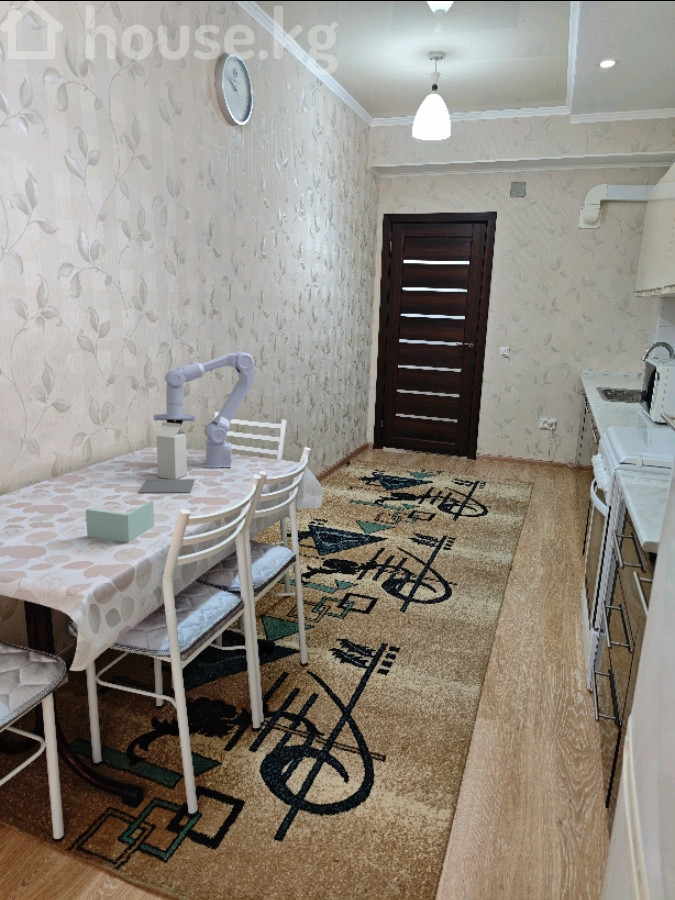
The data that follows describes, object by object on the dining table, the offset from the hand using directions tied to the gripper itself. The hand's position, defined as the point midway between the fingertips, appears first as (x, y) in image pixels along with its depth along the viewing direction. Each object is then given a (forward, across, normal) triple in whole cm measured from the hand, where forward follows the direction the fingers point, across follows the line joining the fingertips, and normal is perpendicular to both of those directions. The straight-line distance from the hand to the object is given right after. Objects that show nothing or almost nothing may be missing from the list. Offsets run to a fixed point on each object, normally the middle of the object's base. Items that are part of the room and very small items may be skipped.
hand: (174, 440), depth 215 cm
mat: (+10, 0, +23) cm, 25 cm away
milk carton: (+11, 0, +11) cm, 15 cm away
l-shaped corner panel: (+11, +6, +62) cm, 63 cm away
